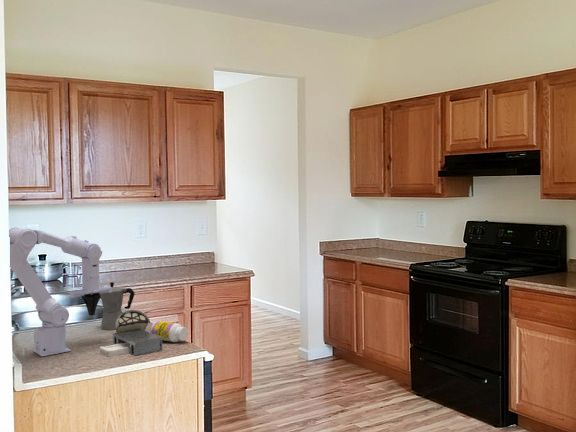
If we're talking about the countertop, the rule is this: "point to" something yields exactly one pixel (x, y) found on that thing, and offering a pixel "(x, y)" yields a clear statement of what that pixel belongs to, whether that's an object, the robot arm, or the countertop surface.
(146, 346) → the shelf
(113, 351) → the tray
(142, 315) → the food container
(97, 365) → the countertop surface
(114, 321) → the coffeepot
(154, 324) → the supplement bottle
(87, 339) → the countertop surface
